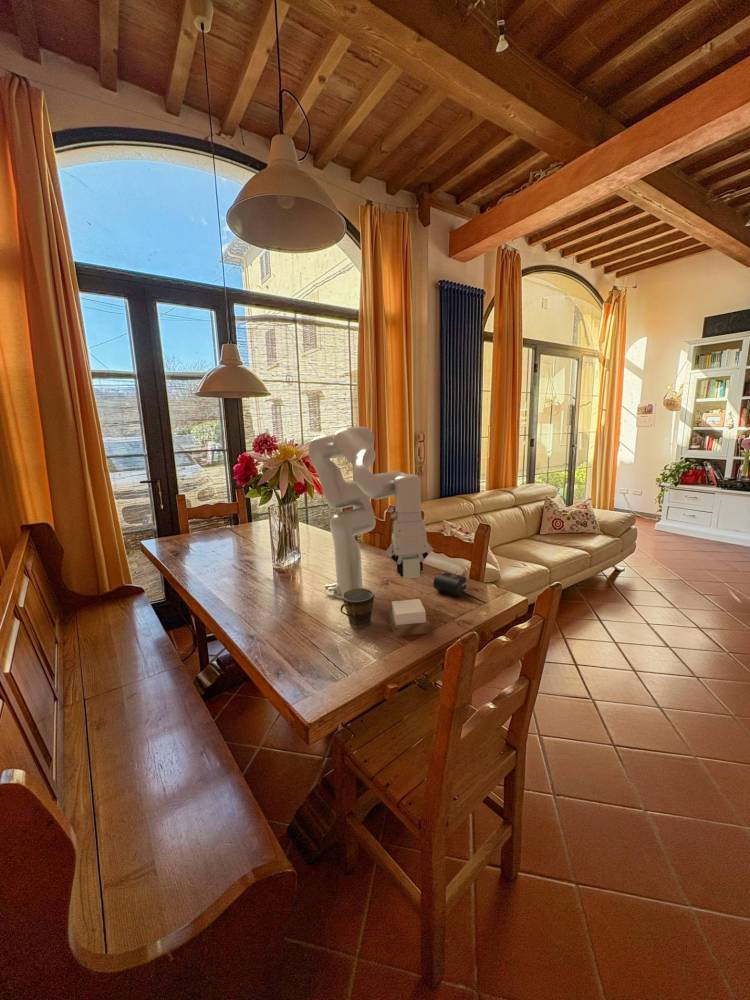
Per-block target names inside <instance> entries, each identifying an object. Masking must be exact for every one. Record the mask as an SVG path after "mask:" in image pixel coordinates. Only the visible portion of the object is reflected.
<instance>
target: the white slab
mask: <svg viewBox="0 0 750 1000" xmlns="http://www.w3.org/2000/svg"><path fill="white" fill-rule="evenodd" d="M391 610H392V612H393V616H394V619H395V623H396V625H404V624H414V623H425V622H426V616H427V614H426V610H425V607H424V605H423V603H422V601H421V599H420V598H417V599H416V598H415V599H404V600H395V601H394V600H393V601H391Z"/></svg>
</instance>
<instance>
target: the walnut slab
mask: <svg viewBox="0 0 750 1000" xmlns="http://www.w3.org/2000/svg"><path fill="white" fill-rule="evenodd" d="M388 620H389V624H390V626H391V629H392V632H393V634H394V637H395V638H397V637H404V636H413V635H420V634H421V635H423V634H430V633H432V623H431V621H430V619H429V618H428V616H427V615H426V622H425V623H414V624H404V625H396V623H395V619H394V616H393V612H392V609H391V610H388Z"/></svg>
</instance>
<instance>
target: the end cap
mask: <svg viewBox="0 0 750 1000" xmlns="http://www.w3.org/2000/svg"><path fill="white" fill-rule="evenodd" d="M452 575H453V574H452V573H451V572H443V573H437V574H436V575H435V576H434V578H433V583H432V585H433V587H434V589H435V590H437V592H441V593H444V594H448V595H451V596H456V597H457V598H458V597H459V598H460V597H462V596H463V595H465V594H466V589H467V584H465V583H466V582H467V578H466V577H465V576H462V575H461V574H460V575H457V576H454V577H453V576H452ZM463 584H464V585H463Z"/></svg>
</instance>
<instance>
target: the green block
mask: <svg viewBox="0 0 750 1000" xmlns="http://www.w3.org/2000/svg"><path fill="white" fill-rule="evenodd" d="M402 564H403V577H402V578H403V579H404V580H408V579H416V578H421V575H420V558H419V557H418V556H417V554H416V555H405V556H403V557H402Z"/></svg>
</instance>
